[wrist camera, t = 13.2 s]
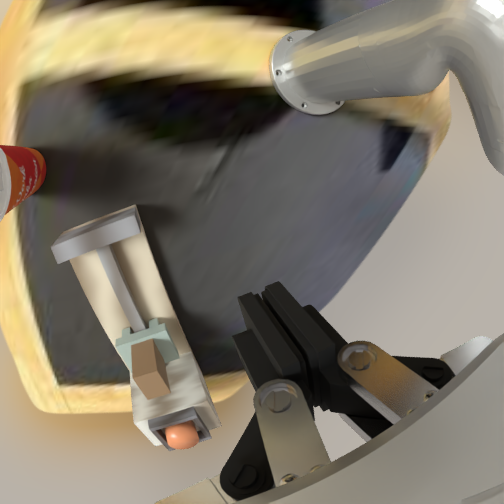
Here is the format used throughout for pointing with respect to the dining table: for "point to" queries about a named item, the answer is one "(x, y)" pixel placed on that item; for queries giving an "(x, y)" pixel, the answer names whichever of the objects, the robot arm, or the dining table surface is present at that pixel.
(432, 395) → the robot arm
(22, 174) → the paper cup
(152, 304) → the track
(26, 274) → the dining table surface
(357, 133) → the dining table surface
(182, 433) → the button
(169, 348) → the carriage
